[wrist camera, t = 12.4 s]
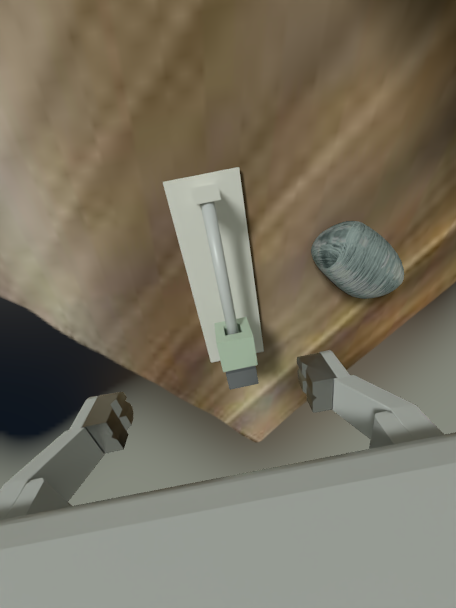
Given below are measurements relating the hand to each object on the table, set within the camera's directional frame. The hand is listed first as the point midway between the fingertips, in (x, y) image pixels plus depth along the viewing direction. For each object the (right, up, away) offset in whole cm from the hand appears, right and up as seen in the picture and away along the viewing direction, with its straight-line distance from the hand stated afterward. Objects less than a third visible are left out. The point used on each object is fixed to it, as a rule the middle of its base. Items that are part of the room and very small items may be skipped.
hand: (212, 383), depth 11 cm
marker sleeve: (+2, -1, +26) cm, 26 cm away
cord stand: (0, +7, +27) cm, 28 cm away
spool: (+19, +12, +27) cm, 35 cm away
